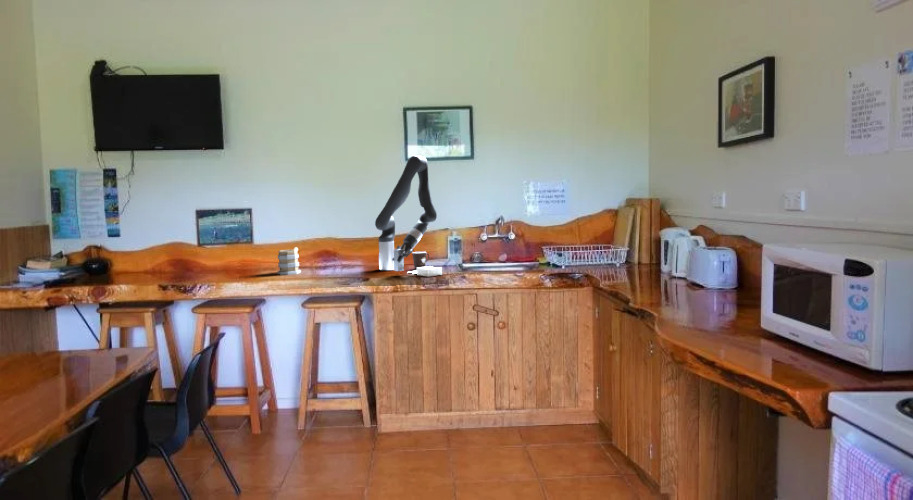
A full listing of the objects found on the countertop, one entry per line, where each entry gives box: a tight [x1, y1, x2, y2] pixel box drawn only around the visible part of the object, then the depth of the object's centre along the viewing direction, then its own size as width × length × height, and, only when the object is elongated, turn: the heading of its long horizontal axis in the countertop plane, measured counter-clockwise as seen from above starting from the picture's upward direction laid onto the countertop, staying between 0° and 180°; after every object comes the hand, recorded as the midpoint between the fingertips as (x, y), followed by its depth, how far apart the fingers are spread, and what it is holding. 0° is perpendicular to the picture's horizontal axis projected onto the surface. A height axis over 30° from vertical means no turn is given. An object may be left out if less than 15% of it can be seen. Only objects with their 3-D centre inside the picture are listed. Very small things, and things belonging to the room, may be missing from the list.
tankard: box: [276, 246, 302, 276], centre depth 354 cm, size 20×13×15 cm, turn 168°
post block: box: [407, 265, 443, 278], centre depth 329 cm, size 20×10×4 cm, turn 39°
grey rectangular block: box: [393, 248, 405, 272], centre depth 327 cm, size 4×4×12 cm
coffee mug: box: [412, 251, 430, 270], centre depth 354 cm, size 12×9×10 cm
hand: (395, 261), depth 325 cm, fingers closed on grey rectangular block, 4 cm apart
